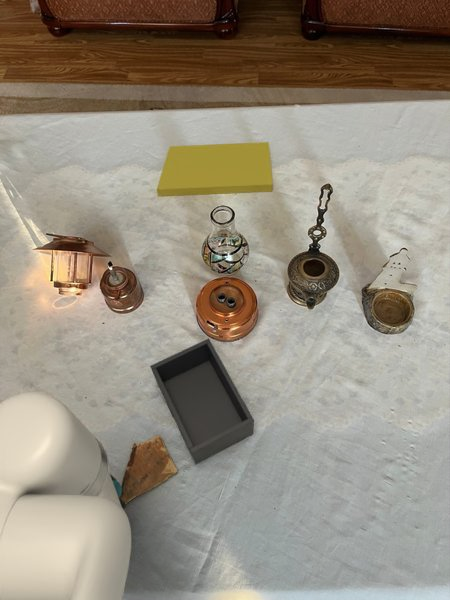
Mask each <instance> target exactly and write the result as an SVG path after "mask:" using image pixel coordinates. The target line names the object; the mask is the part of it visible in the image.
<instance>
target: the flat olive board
mask: <svg viewBox="0 0 450 600" xmlns="http://www.w3.org/2000/svg"><path fill="white" fill-rule="evenodd" d="M272 173H273V172H272V162H271V151H270V142H269V141H263V142H261V141H260V142H240V143H238V142H237V143H236V142H235V143H218V144H217V143H216V144H215V143H213V144H193V145H175V146H174V145H171V146H170V145H169V147H168V151H167V154H166V157H165V160H164V164H163V167H162V170H161V174H160V177H159V181H158V183H157V187H156V192H157V197H178V196H179V197H180V196H200V195H201V196H202V195H204V196H205V195H224V194H226V195H227V194H247V193H248V194H249V193H271V192H273V189H274V188H273V187H274V184H273V183H274V182H273V174H272Z"/></svg>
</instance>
